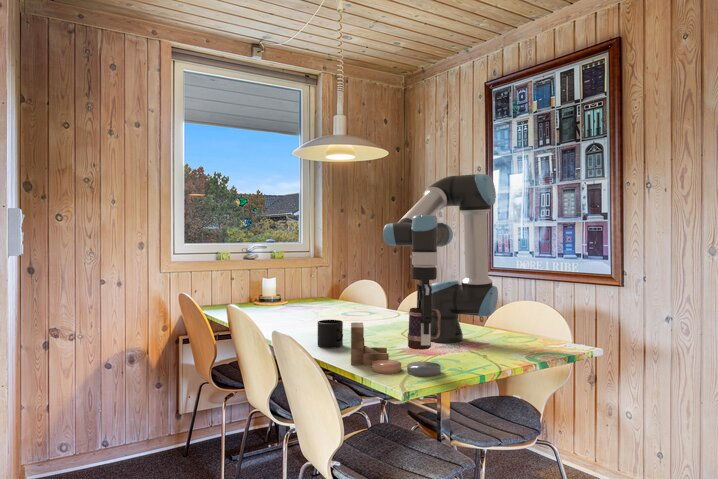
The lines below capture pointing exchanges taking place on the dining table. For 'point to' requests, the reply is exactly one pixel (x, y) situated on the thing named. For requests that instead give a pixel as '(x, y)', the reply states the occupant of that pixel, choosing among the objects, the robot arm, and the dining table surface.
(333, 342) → the mug
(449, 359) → the dining table surface
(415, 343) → the mug
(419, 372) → the stand slate
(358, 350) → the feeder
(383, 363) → the pink disc
